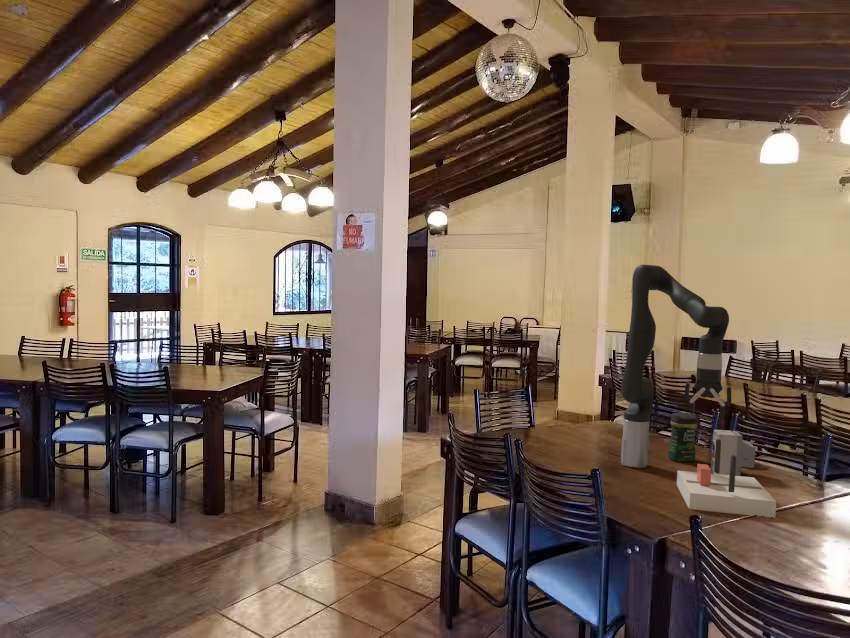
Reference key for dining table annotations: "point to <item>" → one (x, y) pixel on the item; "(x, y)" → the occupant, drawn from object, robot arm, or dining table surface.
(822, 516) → the dining table surface
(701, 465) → the block
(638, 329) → the robot arm
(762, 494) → the board
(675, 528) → the dining table surface
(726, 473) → the circuit breaker
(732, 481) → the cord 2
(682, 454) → the coffee jar
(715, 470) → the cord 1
